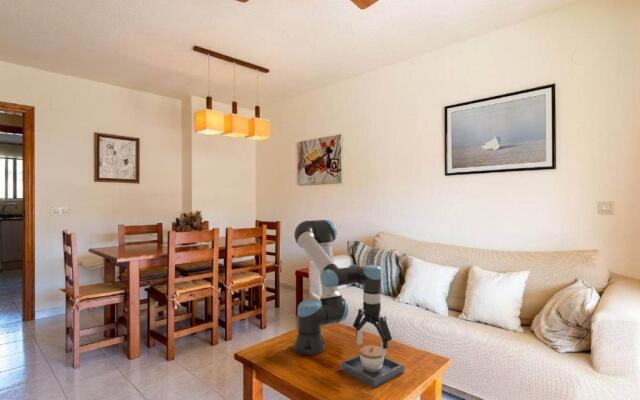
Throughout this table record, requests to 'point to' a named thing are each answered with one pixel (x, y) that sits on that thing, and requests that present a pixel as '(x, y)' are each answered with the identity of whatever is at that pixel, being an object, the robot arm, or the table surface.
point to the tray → (372, 378)
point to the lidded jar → (371, 358)
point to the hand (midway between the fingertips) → (371, 349)
